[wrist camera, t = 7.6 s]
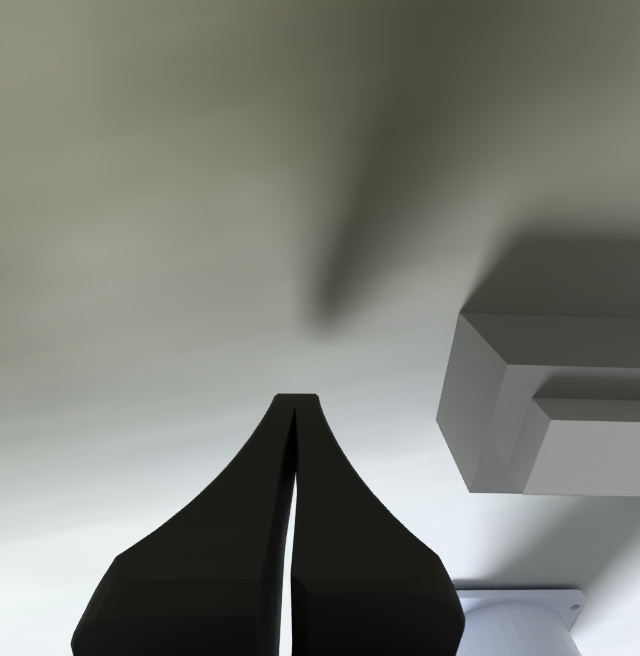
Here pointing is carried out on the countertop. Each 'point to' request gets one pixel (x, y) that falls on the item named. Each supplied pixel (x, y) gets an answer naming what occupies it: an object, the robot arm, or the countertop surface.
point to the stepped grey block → (544, 404)
